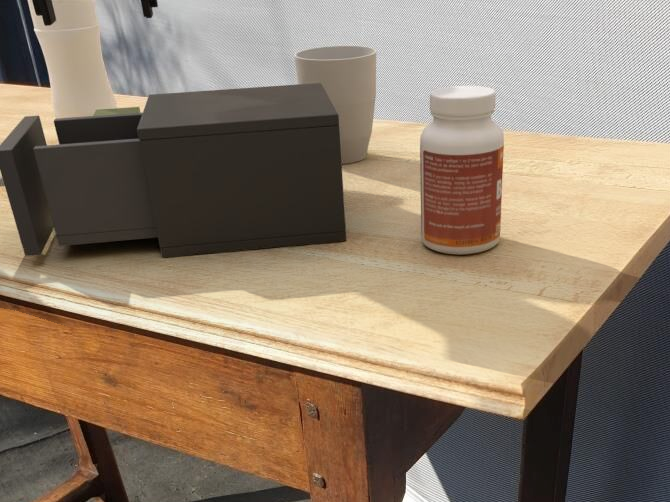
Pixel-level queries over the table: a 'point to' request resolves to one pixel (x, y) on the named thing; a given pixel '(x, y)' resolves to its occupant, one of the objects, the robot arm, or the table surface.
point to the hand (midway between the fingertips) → (100, 20)
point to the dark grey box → (243, 168)
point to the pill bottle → (461, 171)
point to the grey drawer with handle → (77, 181)
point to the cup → (345, 91)
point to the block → (117, 111)
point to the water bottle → (74, 59)
